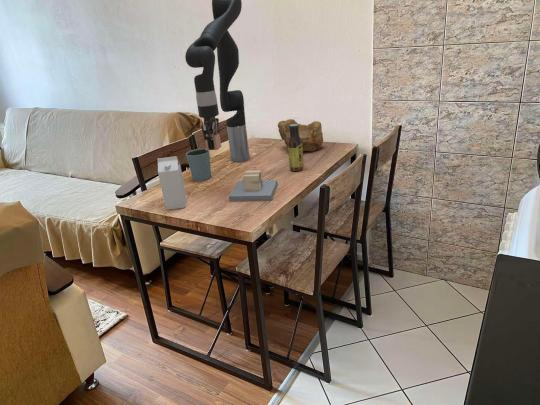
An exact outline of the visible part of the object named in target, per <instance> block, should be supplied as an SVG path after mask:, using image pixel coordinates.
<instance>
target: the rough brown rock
mask: <svg viewBox="0 0 540 405" xmlns="http://www.w3.org/2000/svg"><path fill="white" fill-rule="evenodd" d="M292 124H298V125H299V128H298V129H299V136H300V138H301V141H302V147H303V152H305V151H308V152H315V151H317V150H319V149H320V148H321V147H323V144H324V137H323V131H322V126H323V125H322V123H321V122H320V121H319V120H317V121H315V120H314V121H312V122H311V123H308V124H302V123H298V122H297V121H296V120H295V119H291V118H290V119H289V118H288V119H287V120H281V121H279V122H278V123H277V127H278V133H279V135H280V138H281V140H282V141H284V144H285V145H286V150H287V154H289V152H288V140H289V138H290V129H289V125H292Z"/></svg>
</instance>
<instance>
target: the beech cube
mask: <svg viewBox="0 0 540 405" xmlns="http://www.w3.org/2000/svg"><path fill="white" fill-rule="evenodd" d="M262 174H263V173H262V170H245V173H243V175H242V181H243V182H244V190H245V191H260V189H261V187H262V185H263V183H262V180H263V176H262Z"/></svg>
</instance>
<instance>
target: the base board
mask: <svg viewBox="0 0 540 405" xmlns="http://www.w3.org/2000/svg"><path fill="white" fill-rule="evenodd" d="M262 183H263V185H262V187H261V189H260V191H245V190H244V182H243V180H241V181H240V180H238V182H237V183H236V184H235V187H233V189H232V191H231V193H229V196H228V198H229V202H261V201H263V202H265V201H267V202H268V201H269V202H270V201H272V200H273V197H274V195H275V192H276V190H277V187H278V184H279V183H278V180H277V179H269V180H268V179H267V180H265V179H264V180H263V179H262Z"/></svg>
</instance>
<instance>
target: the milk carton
mask: <svg viewBox="0 0 540 405" xmlns="http://www.w3.org/2000/svg"><path fill="white" fill-rule="evenodd" d="M182 171H183V170H182V166H181V163H180V160H179V159H178V156H169V157H160V158H159V157H158V158H157V175H158V180H159V183H160V188H161V193H162V197H163V203H164V208H165V210H167V211H168V209H170V210H177V209H185V208H186V205H187V201H188V200H187V199H188V198H187V192H186V188H185V183H184V182H185V181H184V177H183V172H182Z"/></svg>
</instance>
